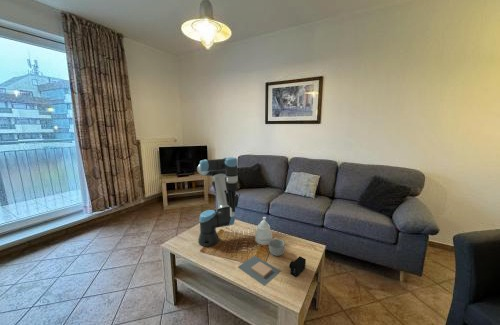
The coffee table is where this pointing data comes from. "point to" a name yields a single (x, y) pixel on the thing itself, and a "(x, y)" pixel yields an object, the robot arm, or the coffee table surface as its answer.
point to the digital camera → (297, 266)
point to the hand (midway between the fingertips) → (232, 216)
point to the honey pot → (263, 233)
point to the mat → (247, 269)
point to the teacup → (276, 247)
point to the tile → (261, 269)
